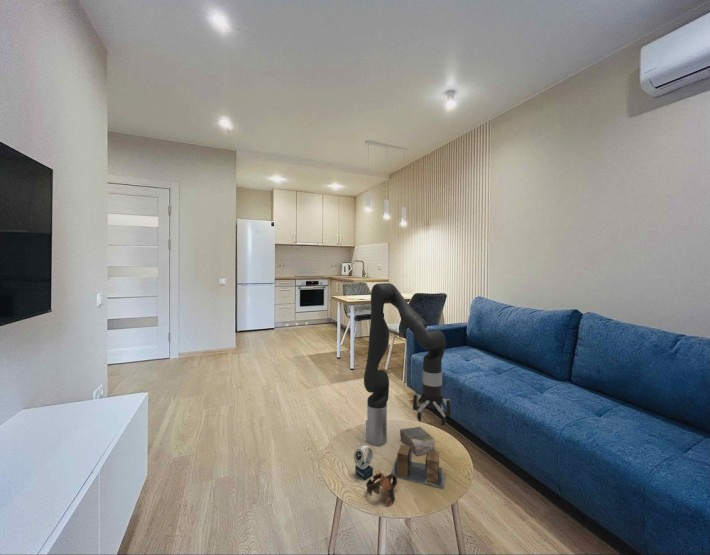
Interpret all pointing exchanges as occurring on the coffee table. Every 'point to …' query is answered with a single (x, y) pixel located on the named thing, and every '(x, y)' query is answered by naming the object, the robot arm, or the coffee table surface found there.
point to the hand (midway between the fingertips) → (431, 422)
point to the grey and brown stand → (413, 469)
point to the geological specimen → (417, 440)
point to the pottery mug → (383, 486)
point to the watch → (363, 467)
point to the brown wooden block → (432, 466)
